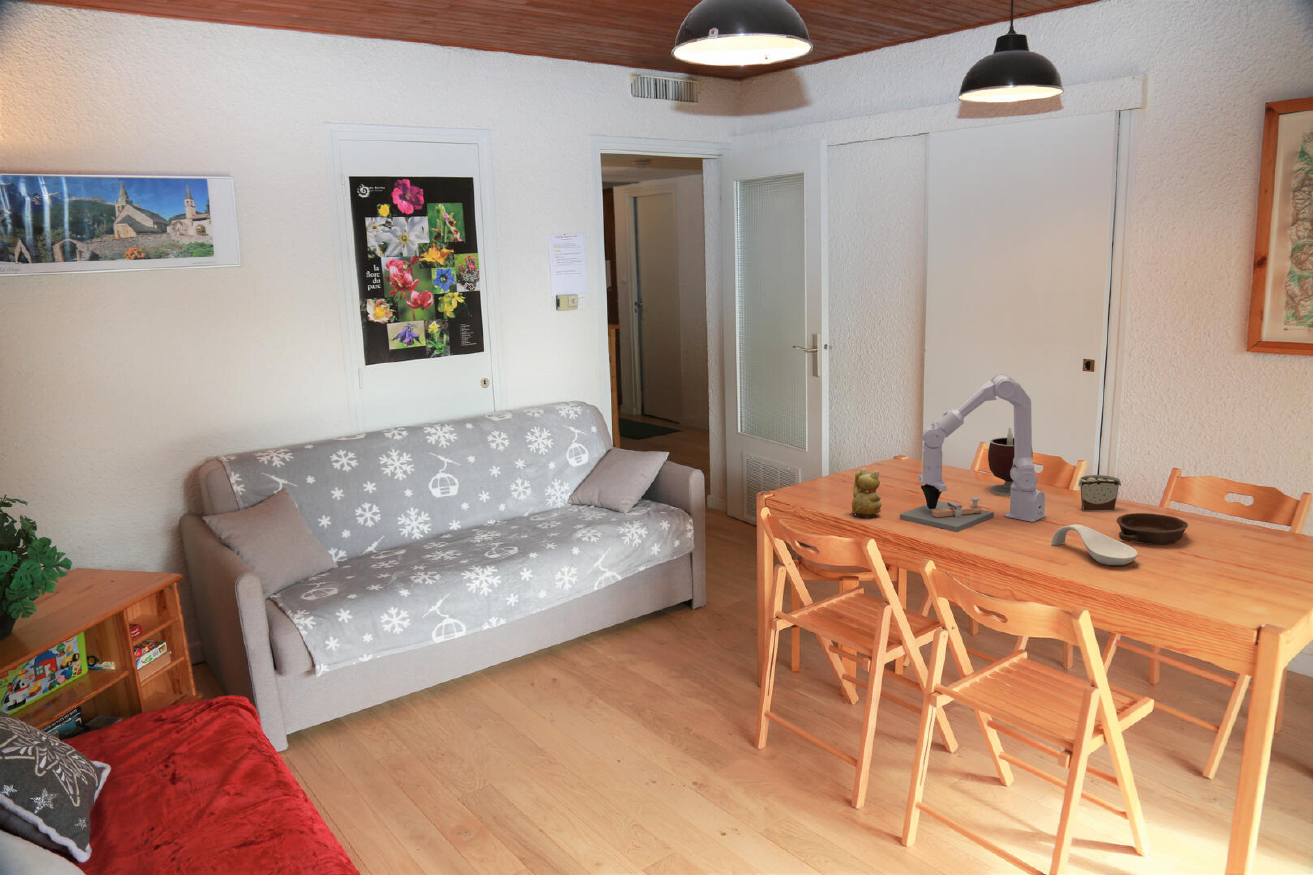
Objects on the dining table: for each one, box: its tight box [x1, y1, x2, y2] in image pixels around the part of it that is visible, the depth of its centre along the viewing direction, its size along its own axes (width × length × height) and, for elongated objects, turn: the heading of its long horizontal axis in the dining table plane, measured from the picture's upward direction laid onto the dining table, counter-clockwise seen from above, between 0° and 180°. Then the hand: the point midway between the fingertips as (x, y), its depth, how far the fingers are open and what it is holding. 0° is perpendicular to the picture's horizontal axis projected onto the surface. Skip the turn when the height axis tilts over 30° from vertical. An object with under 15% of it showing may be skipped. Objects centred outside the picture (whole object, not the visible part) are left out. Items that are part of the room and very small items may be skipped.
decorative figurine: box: [851, 467, 883, 519], centre depth 293 cm, size 10×8×15 cm
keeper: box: [946, 501, 963, 518], centre depth 285 cm, size 2×5×4 cm, turn 10°
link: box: [932, 496, 982, 517], centre depth 285 cm, size 15×4×4 cm, turn 101°
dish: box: [1116, 512, 1189, 545], centre depth 261 cm, size 18×22×5 cm
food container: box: [1077, 474, 1122, 512], centre depth 290 cm, size 12×6×10 cm, turn 84°
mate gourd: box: [987, 427, 1034, 497], centre depth 313 cm, size 16×14×20 cm
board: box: [899, 500, 995, 532], centre depth 288 cm, size 20×20×2 cm
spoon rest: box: [1051, 524, 1139, 566], centre depth 249 cm, size 24×12×7 cm, turn 26°
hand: (931, 508), depth 290 cm, fingers closed
